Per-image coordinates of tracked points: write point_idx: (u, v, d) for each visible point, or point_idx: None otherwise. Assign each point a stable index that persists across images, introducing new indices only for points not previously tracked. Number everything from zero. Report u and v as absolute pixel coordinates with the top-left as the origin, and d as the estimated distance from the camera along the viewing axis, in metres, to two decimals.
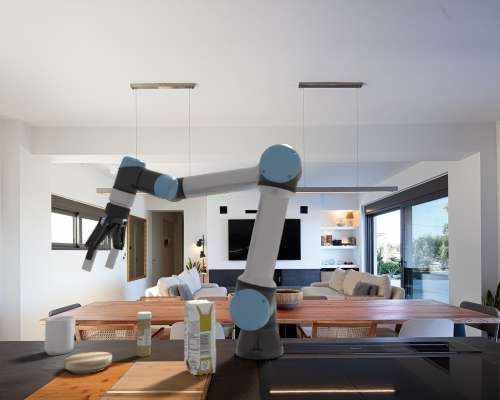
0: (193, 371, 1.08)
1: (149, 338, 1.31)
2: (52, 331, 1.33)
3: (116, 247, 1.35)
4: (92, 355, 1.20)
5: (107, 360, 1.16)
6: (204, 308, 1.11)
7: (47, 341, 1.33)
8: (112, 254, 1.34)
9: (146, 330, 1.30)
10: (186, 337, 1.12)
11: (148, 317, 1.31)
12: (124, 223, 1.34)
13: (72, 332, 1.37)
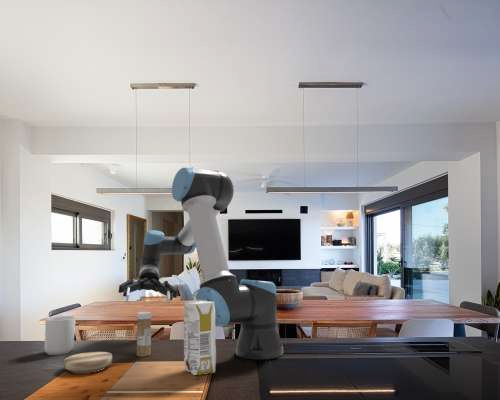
0: (193, 371, 1.08)
1: (149, 338, 1.31)
2: (52, 331, 1.33)
3: None
4: (92, 355, 1.20)
5: (107, 360, 1.16)
6: (204, 307, 1.11)
7: (47, 341, 1.33)
8: (167, 296, 1.43)
9: (146, 330, 1.30)
10: (186, 337, 1.12)
11: (148, 317, 1.31)
12: (164, 282, 1.53)
13: (72, 332, 1.37)
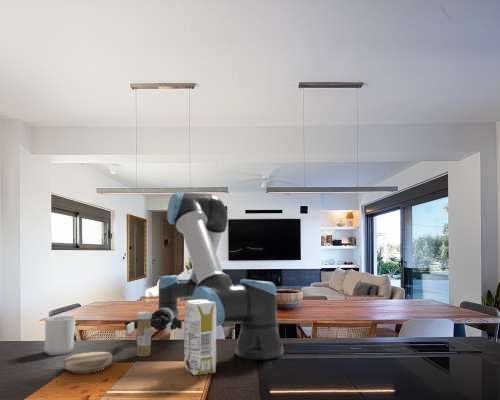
0: (194, 371, 1.08)
1: (149, 338, 1.31)
2: (52, 331, 1.33)
3: None
4: (92, 355, 1.20)
5: (107, 360, 1.16)
6: (205, 308, 1.11)
7: (47, 341, 1.33)
8: None
9: (146, 330, 1.30)
10: (186, 337, 1.12)
11: (148, 317, 1.31)
12: None
13: (72, 332, 1.37)
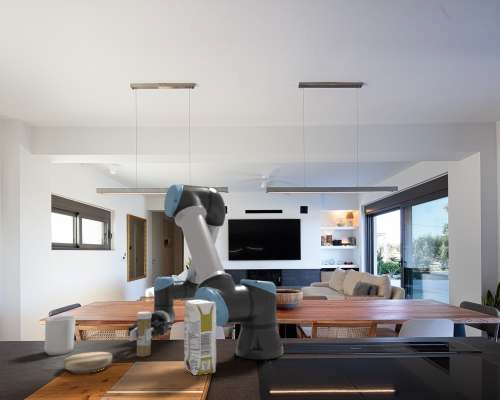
0: (194, 371, 1.08)
1: None
2: (52, 331, 1.33)
3: None
4: (92, 355, 1.20)
5: (107, 360, 1.16)
6: (205, 308, 1.11)
7: (47, 341, 1.33)
8: None
9: (146, 330, 1.30)
10: (186, 337, 1.12)
11: (148, 317, 1.31)
12: None
13: (72, 332, 1.37)
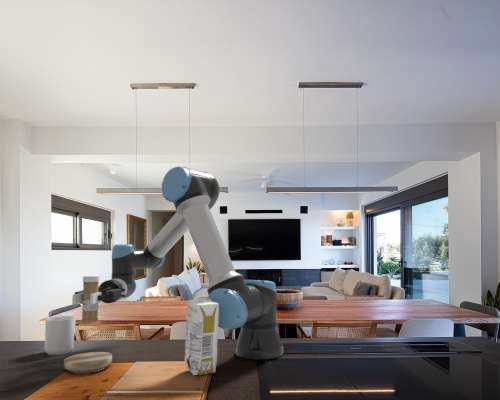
0: (194, 371, 1.08)
1: (96, 303, 1.19)
2: (52, 331, 1.33)
3: None
4: (92, 355, 1.20)
5: (107, 360, 1.16)
6: (208, 309, 1.09)
7: (47, 341, 1.33)
8: None
9: None
10: (188, 336, 1.11)
11: (95, 280, 1.19)
12: None
13: (72, 332, 1.37)
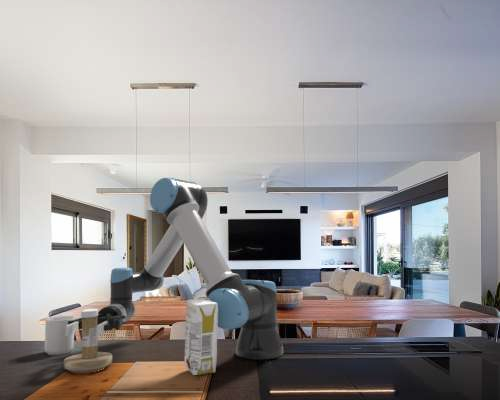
0: (194, 371, 1.08)
1: (95, 338, 1.18)
2: (52, 331, 1.33)
3: None
4: None
5: (107, 360, 1.16)
6: (207, 309, 1.09)
7: (47, 341, 1.33)
8: None
9: (91, 330, 1.17)
10: (187, 336, 1.11)
11: (93, 315, 1.18)
12: None
13: None
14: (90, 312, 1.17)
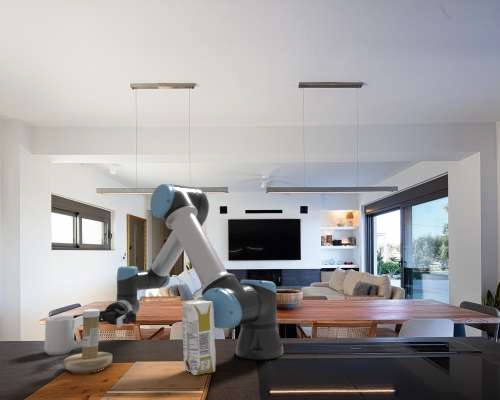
0: (193, 371, 1.08)
1: (96, 338, 1.18)
2: (52, 331, 1.33)
3: None
4: None
5: (107, 360, 1.16)
6: (203, 307, 1.11)
7: (47, 341, 1.33)
8: None
9: (92, 330, 1.17)
10: (185, 337, 1.12)
11: (95, 315, 1.18)
12: (129, 312, 1.39)
13: (72, 332, 1.37)
14: (92, 312, 1.17)
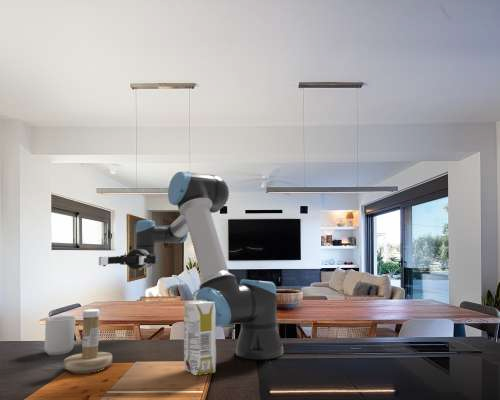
0: (194, 371, 1.08)
1: (96, 338, 1.18)
2: (52, 331, 1.33)
3: None
4: None
5: (107, 360, 1.16)
6: (205, 307, 1.11)
7: (47, 341, 1.33)
8: None
9: (92, 330, 1.17)
10: (186, 337, 1.12)
11: (95, 315, 1.18)
12: None
13: (72, 332, 1.37)
14: (92, 312, 1.17)
